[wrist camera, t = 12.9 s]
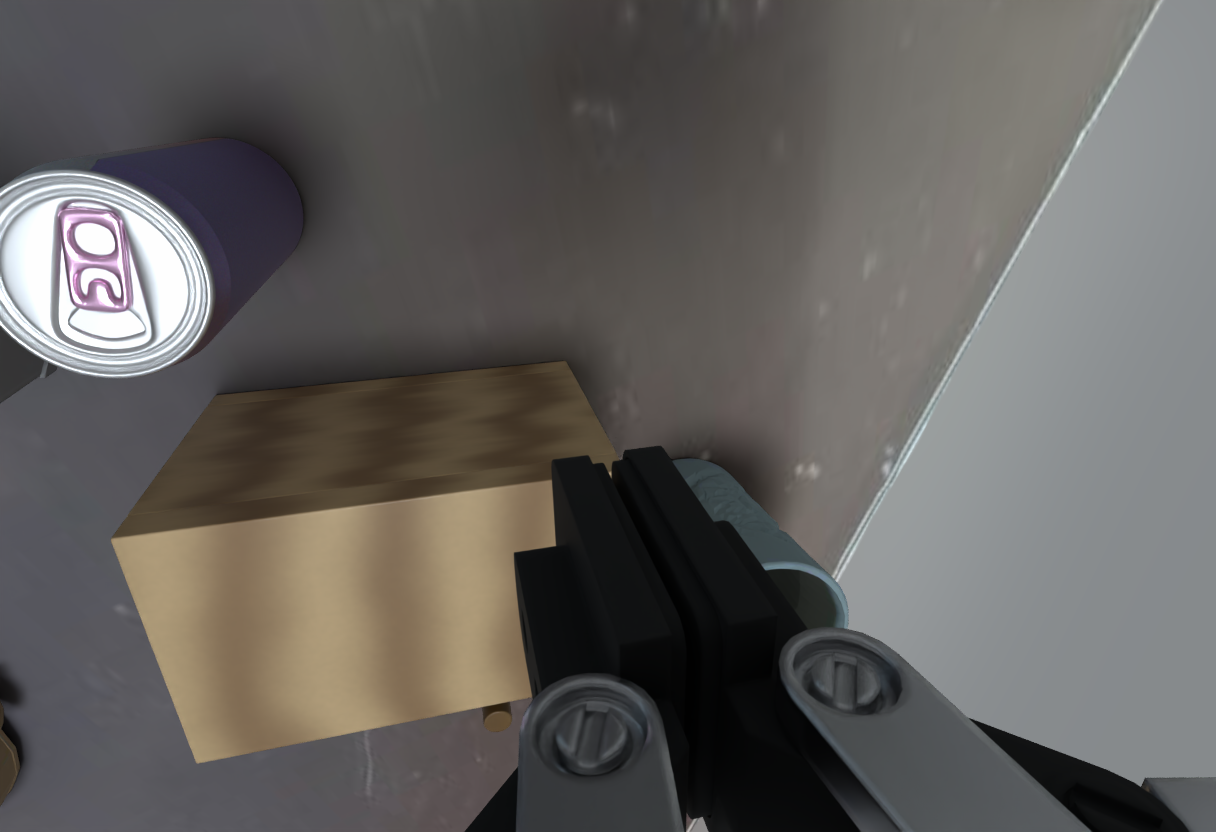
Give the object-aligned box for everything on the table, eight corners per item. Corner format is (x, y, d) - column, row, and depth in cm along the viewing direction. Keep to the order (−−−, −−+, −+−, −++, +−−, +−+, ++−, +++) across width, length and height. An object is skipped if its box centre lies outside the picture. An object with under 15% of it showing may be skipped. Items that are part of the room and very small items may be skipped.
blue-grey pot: (752, 437, 43) (858, 545, 33) (749, 566, 48) (842, 698, 37) (596, 464, 41) (655, 588, 31) (608, 596, 46) (662, 745, 35)
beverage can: (305, 148, 31) (213, 179, 18) (306, 278, 33) (226, 392, 20) (155, 126, 30) (-68, 143, 16) (167, 264, 32) (-20, 379, 18)
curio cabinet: (566, 360, 38) (625, 470, 27) (574, 538, 43) (627, 695, 32) (214, 394, 35) (109, 539, 23) (267, 584, 40) (202, 781, 28)
